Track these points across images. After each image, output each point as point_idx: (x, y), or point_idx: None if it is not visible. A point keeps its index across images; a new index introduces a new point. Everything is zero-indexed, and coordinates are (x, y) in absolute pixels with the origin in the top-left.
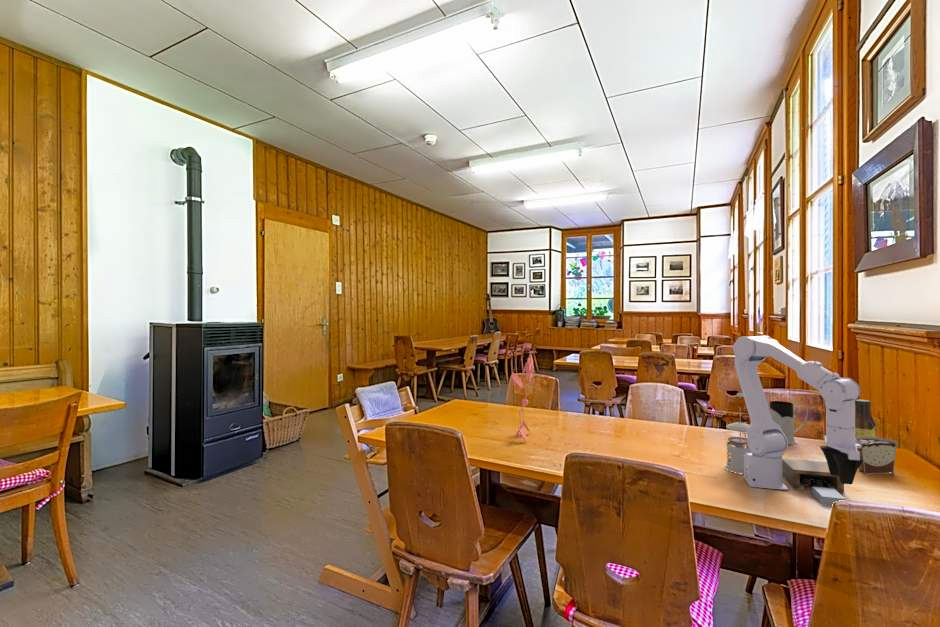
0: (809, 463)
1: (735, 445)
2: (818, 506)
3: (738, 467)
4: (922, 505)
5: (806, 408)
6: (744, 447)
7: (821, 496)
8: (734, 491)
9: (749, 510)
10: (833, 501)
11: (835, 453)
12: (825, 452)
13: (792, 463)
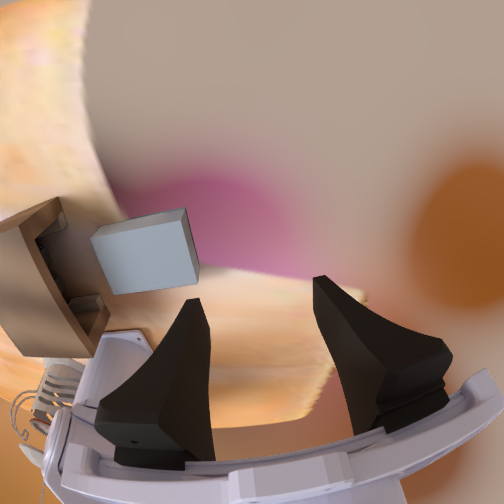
0: (3, 305)
1: (44, 415)
2: (224, 279)
3: None
4: (63, 7)
5: None
6: (28, 398)
7: (190, 283)
8: (219, 398)
9: (315, 379)
10: (191, 248)
11: (195, 424)
12: (212, 445)
13: (39, 345)
